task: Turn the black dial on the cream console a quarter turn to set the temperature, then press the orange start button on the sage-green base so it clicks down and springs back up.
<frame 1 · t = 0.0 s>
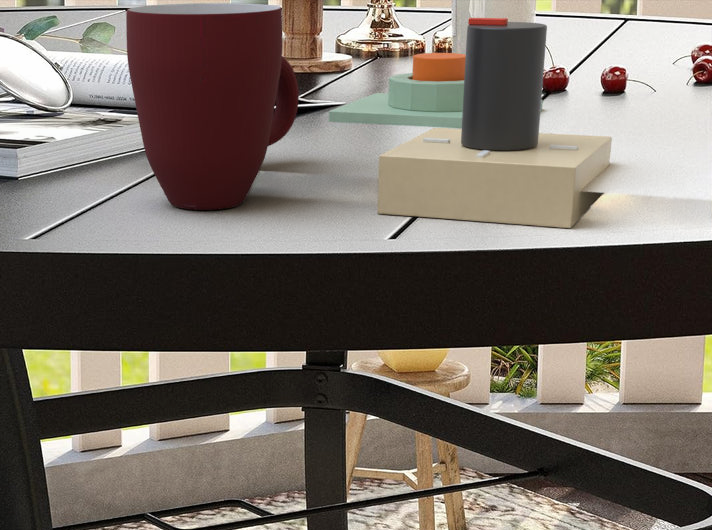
dial: (503, 82, 73), point 6 cm above the table, hinge at 0.0°
console: (495, 202, 75), on the table
start button: (439, 69, 93), point 5 cm above the table, slide at 0.2 cm
kettle base: (436, 138, 95), on the table
mug: (221, 203, 77), on the table
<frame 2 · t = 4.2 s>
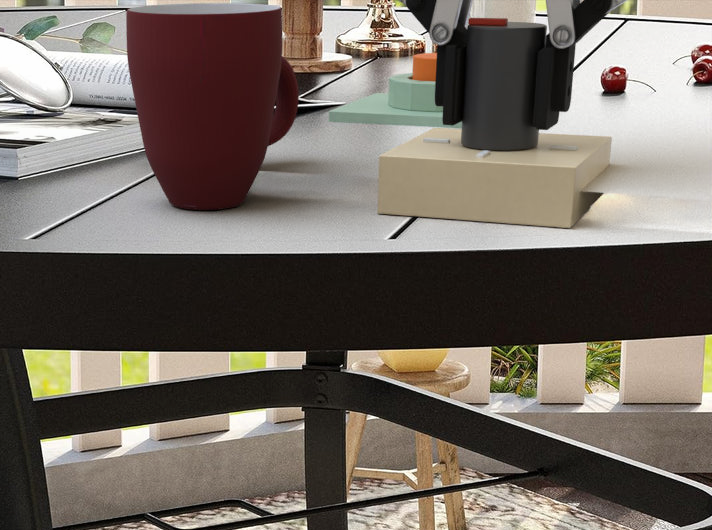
hand: (500, 120, 73), 4 cm above the table, tool pointing down, fingers closed on dial, 4 cm apart
dial: (503, 82, 73), point 6 cm above the table, hinge at 0.0°, touching gripper
everything else where it was.
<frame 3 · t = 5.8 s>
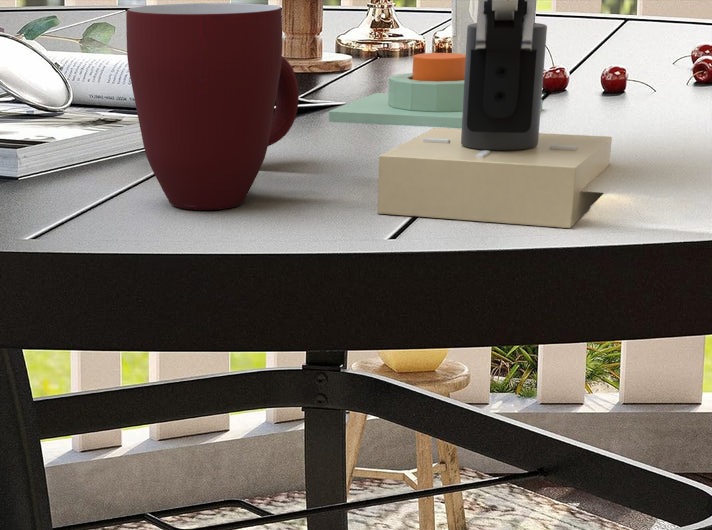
hand: (500, 120, 73), 4 cm above the table, tool pointing down, fingers closed on dial, 4 cm apart
dial: (503, 82, 73), point 6 cm above the table, hinge at 101.7°, touching gripper
everything else where it was.
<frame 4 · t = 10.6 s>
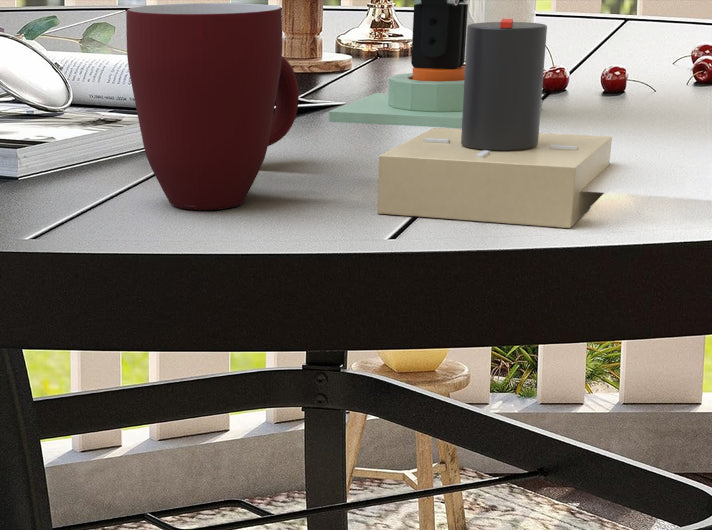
hand: (437, 67, 94), 5 cm above the table, tool pointing down, fingers closed
dial: (503, 82, 73), point 6 cm above the table, hinge at 101.3°
start button: (439, 81, 94), point 4 cm above the table, slide at -0.6 cm, touching gripper
everything else where it was.
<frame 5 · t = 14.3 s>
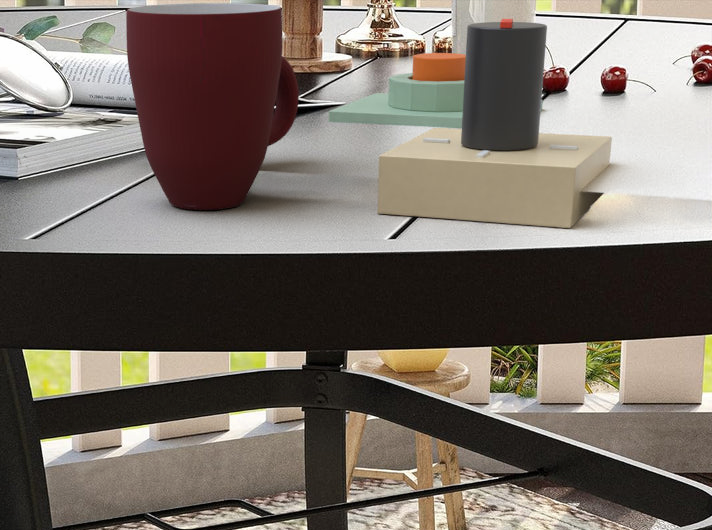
start button: (439, 69, 93), point 5 cm above the table, slide at 0.2 cm
everything else where it was.
at the end: dial at +101° (first picture: +0°); start button pushed in 1.1 cm at the most during the clip, back to 0.2 cm at the end; start button slide at 0.2 cm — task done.
